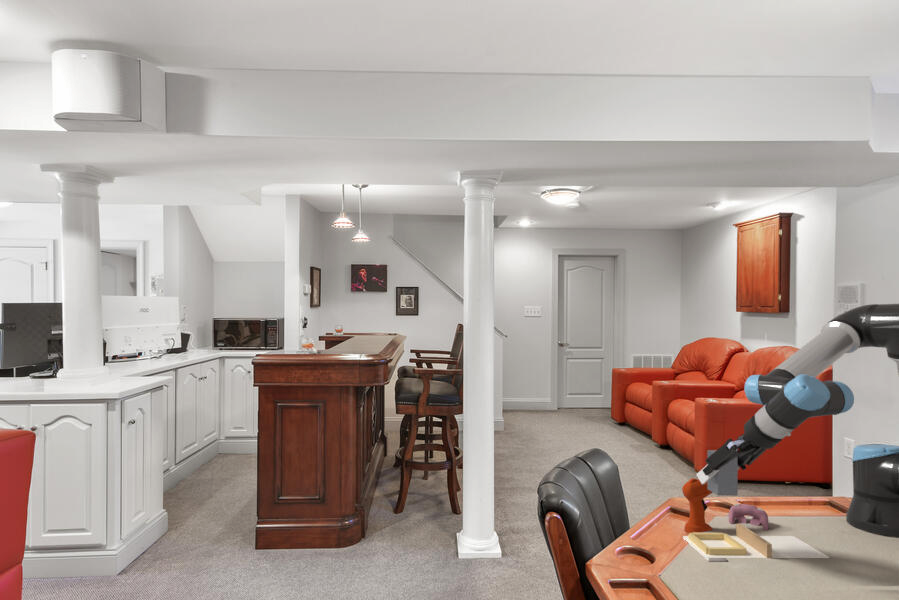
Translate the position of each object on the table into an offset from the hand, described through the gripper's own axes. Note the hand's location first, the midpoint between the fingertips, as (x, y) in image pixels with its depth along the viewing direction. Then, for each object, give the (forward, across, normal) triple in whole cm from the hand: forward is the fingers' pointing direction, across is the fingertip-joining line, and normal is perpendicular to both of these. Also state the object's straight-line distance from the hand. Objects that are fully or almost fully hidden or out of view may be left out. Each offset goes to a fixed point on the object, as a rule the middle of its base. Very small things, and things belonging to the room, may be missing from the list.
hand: (710, 478), depth 138 cm
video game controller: (+16, +21, -8) cm, 28 cm away
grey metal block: (-1, 0, -4) cm, 4 cm away
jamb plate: (+8, +8, -16) cm, 20 cm away
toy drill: (+18, +9, -7) cm, 21 cm away
